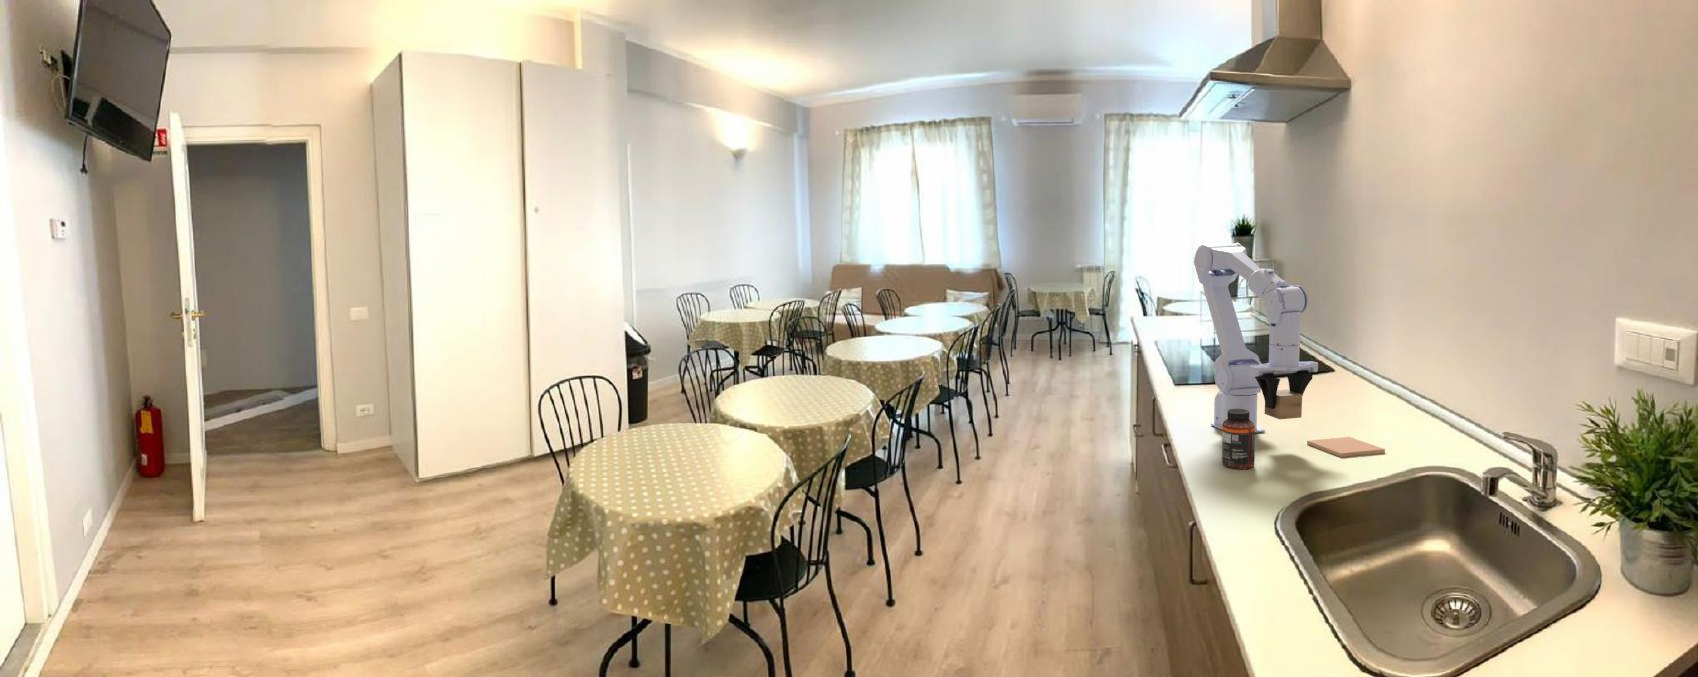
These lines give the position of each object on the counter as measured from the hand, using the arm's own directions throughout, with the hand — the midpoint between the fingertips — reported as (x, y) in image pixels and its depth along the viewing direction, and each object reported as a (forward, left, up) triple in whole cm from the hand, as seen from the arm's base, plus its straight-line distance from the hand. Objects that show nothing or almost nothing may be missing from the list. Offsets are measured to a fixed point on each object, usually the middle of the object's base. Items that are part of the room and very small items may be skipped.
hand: (1282, 406), depth 177 cm
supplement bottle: (+9, -16, -9) cm, 20 cm away
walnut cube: (0, 0, -2) cm, 2 cm away
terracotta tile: (+5, +11, -9) cm, 15 cm away
